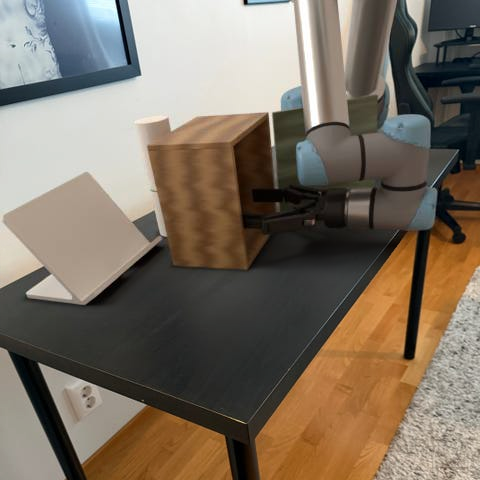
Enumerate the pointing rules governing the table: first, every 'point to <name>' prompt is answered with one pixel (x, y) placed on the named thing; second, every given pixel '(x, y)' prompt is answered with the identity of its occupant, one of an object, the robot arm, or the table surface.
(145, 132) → the cylindrical container
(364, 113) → the cupboard door
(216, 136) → the cupboard
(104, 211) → the tablet stand
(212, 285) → the table surface
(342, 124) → the robot arm
